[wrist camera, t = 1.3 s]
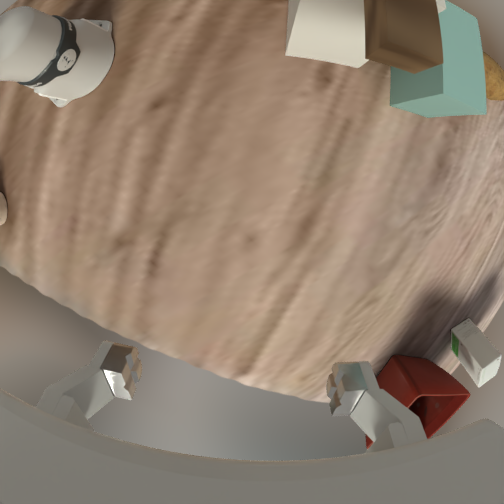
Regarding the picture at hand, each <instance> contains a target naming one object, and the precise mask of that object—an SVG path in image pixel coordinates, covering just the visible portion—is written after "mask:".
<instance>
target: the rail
mask: <svg viewBox="0 0 504 504" xmlns="http://www.w3.org/2000/svg"><path fill="white" fill-rule="evenodd" d="M364 16H365V59H368V60H372V61H376V62H379V63H383V64H386V65H389V66H392V67H396V68H399V69H402V70H404V71H407V72H410V73H413V74H416V73H418V72H421V71H423V70H426V69H429V68H432V67H434V66H437V65H440V64H443V63H444V60H443V47H442V37H441V29H440V22H439V15H438V9H437V4H436V0H364Z"/></svg>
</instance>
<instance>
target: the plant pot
mask: <svg viewBox="0 0 504 504" xmlns="http://www.w3.org/2000/svg"><path fill="white" fill-rule="evenodd" d="M376 380H377V383H378V386H379V388H380V389H384V390H385V391H386V392H387V393H389V394H390V395H391V396H392V397H394V398H395V399H396V400H398V401H399V402H400V403H401V404H403V405H404V406H405V407H407V408H408V409H409V410H410V411H412V412H413V413H414V414H416V415H417V416H418V417H419V419H420V421H421V424H422V426H423V429H424V431H425V434H426V437H427V439H429V438H430V437H431V436H432V435H433V434H435V433H436V432H437V431H438V430H439V429H440V428H441V427H442V426H443V425H444V424H445V423H446V422H447V420H449V419H450V418H451V416H453V415H454V414H455V412H456V411H457V410H458V409H459V408H460V407H461V406H462V405H463V404H464V403H465V401H466V400H467V399H468V398H469V397H470V393H469V392H468V391H467V390H466V389H465V387H463V385H461V384H460V383H459V382H458V381H457V380H456V379H455V378H454V377H452V376H451V375H450V374H449V373H447V372H446V371H445V370H443V369H442V368H440V367H439V366H437V365H436V364H434V363H433V362H431V361H429V360H428V359H423V358H416V357H409V356H402V355H394V356H392V357H391V359H390V360H389V362H388V363H387V364H386V366H385V367H384V368H383V370H382V371H381V373H380V374H379V375H378V377H377V378H376ZM373 443H374V442H373V441H372V440H371V439H370V438H369V437H368V435H367V434H366V446H367V449H368V448H369V447H370V446H371V445H372V444H373Z"/></svg>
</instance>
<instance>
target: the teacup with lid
mask: <svg viewBox="0 0 504 504" xmlns="http://www.w3.org/2000/svg"><path fill="white" fill-rule="evenodd" d="M7 212H8V210H7V203H6V199H5V197H4V195H3V194H2V193H1V192H0V225H2V224H4V222H5V221H6V218H7Z"/></svg>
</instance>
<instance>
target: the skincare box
mask: <svg viewBox="0 0 504 504" xmlns="http://www.w3.org/2000/svg"><path fill="white" fill-rule="evenodd" d="M451 350H452V351H453V353H454V354H455V355H456V357H457V358H458V359H459V361H460V362H461V364H462V365H463V366H464V368H465V369H466V370H467V372H468V373H469V375H470V376H471V377H472V379H473V380H474V382H475V383H476V385H477V386H478V387H480V386H482V385H483V384H484V383H485V382H487V381H488V380H489V379H491V378H492V377H494V376H495V375H496V374H497V371H498V368H499V366H500V360H501V356H502V354H501V353H500V352H499V351H498V350H497V348H496V347H495V346H494V345H493V344H492V343H491V342H490V340H489V339H488V338H487V337H486V336H485V335H484V334H483V333H482V332H481V330H480V329H479V328H478V327H477V326H476V325H475V324H474V323H473V322H472V321H471V320H470V318H468V319H466V320H465V321H463V322H462V323H460V324H458V325H457V326H455V327H454V328H452V329H451Z"/></svg>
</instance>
